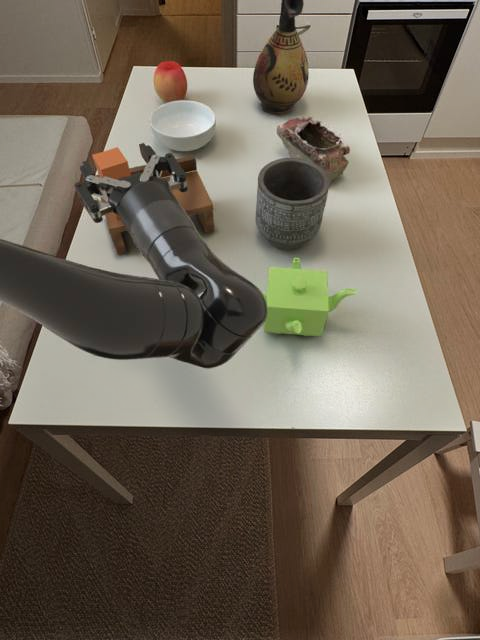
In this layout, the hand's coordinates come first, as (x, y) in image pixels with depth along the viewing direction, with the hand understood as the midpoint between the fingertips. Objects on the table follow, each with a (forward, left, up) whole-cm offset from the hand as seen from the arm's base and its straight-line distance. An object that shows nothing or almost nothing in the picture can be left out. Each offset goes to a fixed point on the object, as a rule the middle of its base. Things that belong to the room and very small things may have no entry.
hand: (114, 157), depth 60 cm
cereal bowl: (+20, +45, -30) cm, 58 cm away
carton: (-1, +15, -22) cm, 27 cm away
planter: (+32, +4, -30) cm, 44 cm away
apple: (+22, +66, -30) cm, 76 cm away
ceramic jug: (+51, +54, -30) cm, 81 cm away
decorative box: (+46, +25, -30) cm, 61 cm away
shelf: (+6, +16, -30) cm, 35 cm away
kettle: (+24, -18, -30) cm, 43 cm away
